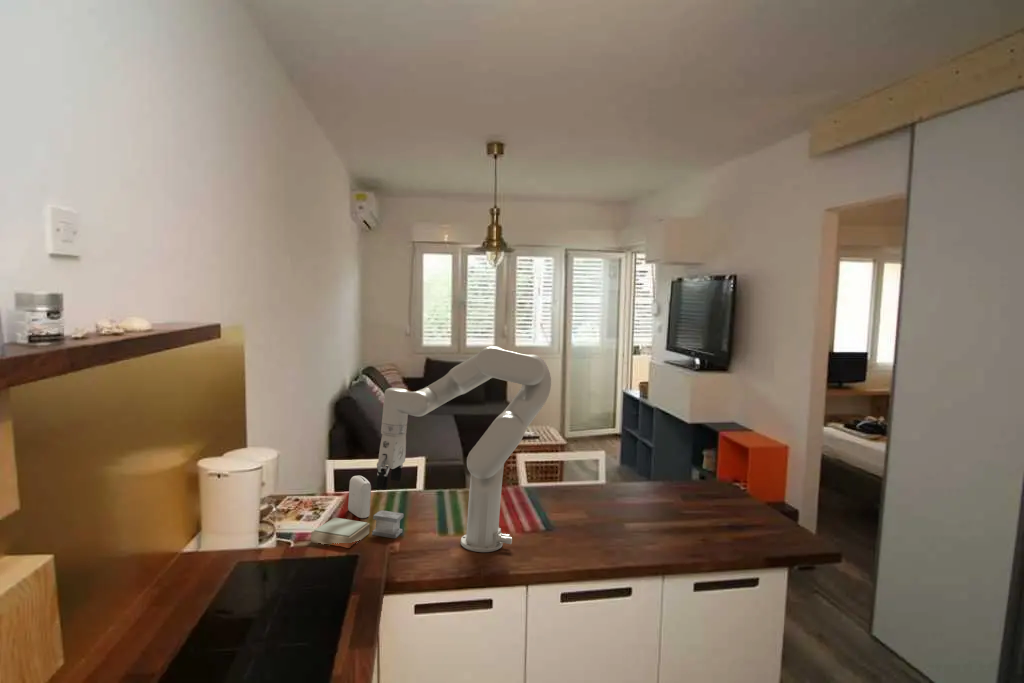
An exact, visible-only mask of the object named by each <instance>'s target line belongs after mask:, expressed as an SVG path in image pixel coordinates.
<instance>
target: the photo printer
mask: <svg viewBox="0 0 1024 683" xmlns="http://www.w3.org/2000/svg"><path fill="white" fill-rule="evenodd" d="M371 495H372V485H371V482H370V481H369V480H368V479H367V478H366V477H364V476H362V475H354V476H352V477H351V478H350V480H349V487H348V506H347V508H348V511H349V512H350V513H351V514H353V515H354V516H355V517H357V518H360V519H365V518H368V517H369V516H370V514H371V513H370V511H371Z"/></svg>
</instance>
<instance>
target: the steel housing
mask: <svg viewBox="0 0 1024 683" xmlns="http://www.w3.org/2000/svg"><path fill="white" fill-rule="evenodd" d="M403 518H404V513H402V512H395V511H390V510H389V511H388V510H382V509H381V510H379V511H377V512H376V513H375V514H373V516H372V519H373V520H375V529H373V530H372V531H371V532H372V533H371V535H372V536H376V537H382V538H383V537H385V538H391V539H397V538H398V537H399V536H400V535H401V534H403V528H400V526H401V520H402V519H403Z"/></svg>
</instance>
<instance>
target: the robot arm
mask: <svg viewBox="0 0 1024 683" xmlns="http://www.w3.org/2000/svg"><path fill="white" fill-rule="evenodd" d="M551 377H552V376H551V373H550V370H549V367H548V365H547V363H546V361H545V360H544V359H543V358H542V357H541V356H539V355H537V354H524V353H519V352H515V351H511V350H506V349H503V348H502V347H500V346H499V345H498V346H497V345H490V346H486V347H483V348H482V349H481V350H480V351H479V352H478V353H476V354H474V355H473V356H471V357H470V358H469V357H468V359H466V360H464V361H462V362H460V363H459V364H456V365H455V366H454V367H453V368H451V369H450V370H449V371H448V372H447V373H446V374H444V376H442V377H440V378H439V379H437V380H436V381H434V382H432V383H431V384H429V385H428V386H427V385H426V386H425V387H424V388H420V389H418V390H416V391H415V390H414V391H409V390H408V389H406V388H401V387H389V388H387V389H385V390H384V395H383V396H384V397H383V407H382V419H381V429H380V434H381V438H380V439H381V440H380V444H379V453H378V461H377V463H376V472H377V473H376V475H377V479H376V489H378V490H383V491H384V490H385V491H387V490H388V487H389V486H388V485H389V475H388V474H389V473H390V472H391V473H390V480H391V481H395V482H401V480H402V473H403V466H404V465H403V464H405V462H406V456H407V455H406V453H407V452H406V451H407V448H406V447H407V429H408V428H407V427H408V417H409V416H412V417H413V416H414V417H423V416H425V415H427V414H429V413H430V412H432V411H434V410H435V409H437V408H440V407H441V406H442V405H444V404H446V403H447V402H450V401H451V400H453V399H455V398H457V397H459V396H461V395H465V394H467V393H469V392H470V391H472V390H474V389H475V388H477V387H478V386H480V385H483V384H484V383H486V382H488V381H489V380H490V379H491V380H492V379H497V380H501V381H505V382H510V383H514V384H518V385H521V387H520V389H519V391H518V392H517V393H516V394H515V395H514V397H513V399H512V400H511V401H510V403H509V404H508V405H507V407H506V408H505V409H504V410H503V411H502V412H501V413H500V414H498V416H496V418H495V419H494V420H493V421H492V423H491V424H490V425H489V426H488V428H487V429H486V430H485V432H484V433H483V435H482V436H481V437H480V438H479V440H478V441H477V442H476V444H475V445H474V446H473V447H472V448H471V450H470V451H469V452H468V455H467V457H466V467H467V470H468V472H469V473H470V480H469V481H470V482H469V491H468V492H469V493H468V503H467V504H468V505H467V519H466V532H465V533H466V534H464V535H462V536H461V538H460V545H461V546H462V548H464V549H466V550H468V551H471V552H478V553H491V552H496V551H498V550H499V549H501V548H502V547H503V544H509V545H512V543H513V537H512V536H511V535H510V534H508V533H507V534H506V533H503V532H502V528H501V527H500V526H499V525H500V514H501V501H502V500H501V499H502V497H501V496H502V488H503V486H502V485H503V476H504V466H505V463H506V461H507V460H508V459H509V458H510V456H511V455H512V454H513V452H514V451H515V450H516V448H517V447H518V446H519V444H520V443H521V441H522V440H523V438H524V435H525V433H526V430H528V428H529V426H530V425H531V423H532V422H533V421H534V419H535V418H536V417H537V415H538V414H539V413H540V411H541V410H542V409H543V407H544V405H545V404H546V402H547V400H548V397H549V396H550V393H551V386H552V378H551ZM390 469H391V471H390Z"/></svg>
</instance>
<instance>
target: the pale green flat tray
mask: <svg viewBox="0 0 1024 683" xmlns="http://www.w3.org/2000/svg"><path fill="white" fill-rule="evenodd" d="M370 524H371V523H369V522H366V521H365V522H364V521H359V520H354V519H348V518H347V519H346V518H340V517H333V518H331V519H330V520H328V521H326V522H325V523H324V524H322V525H320V526H319V527H317V528H315V529H314V530H313V531H312V530H311V533H310V534H311V536H310V543H311V544H312V543H314V544H318V543H321V544H320V545H324V544H332V543H334V544H335V543H336V544H337V543H338V544H339V543H352V542H355V541H359V540H360V541H362V539H364V538H365V537H366V536H368V535H369V534H370V528H371V527H370V526H371V525H370ZM360 541H359V542H360Z"/></svg>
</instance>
